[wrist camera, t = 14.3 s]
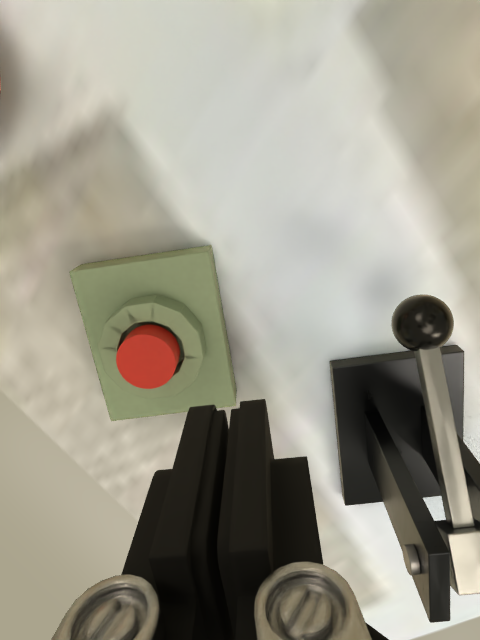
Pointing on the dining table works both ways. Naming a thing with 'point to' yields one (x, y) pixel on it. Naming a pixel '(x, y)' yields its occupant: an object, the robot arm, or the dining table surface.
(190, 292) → the control block
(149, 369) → the button
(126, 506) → the dining table surface
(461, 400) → the bracket
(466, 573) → the lever
